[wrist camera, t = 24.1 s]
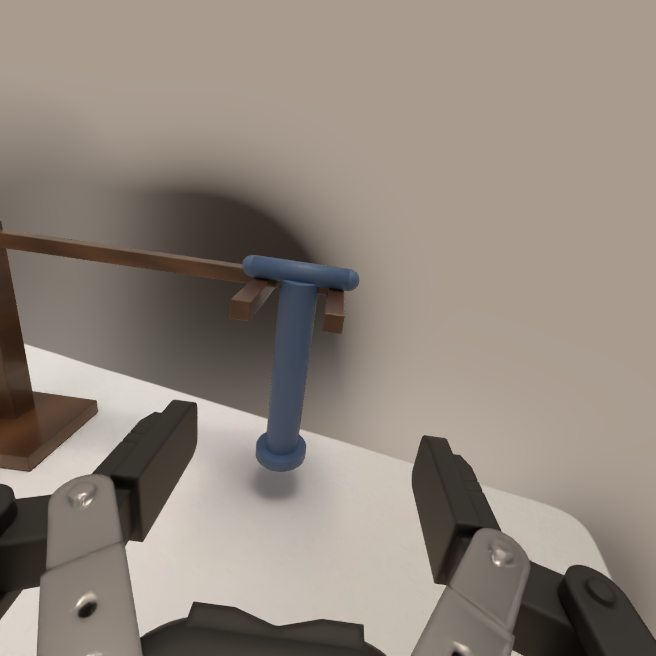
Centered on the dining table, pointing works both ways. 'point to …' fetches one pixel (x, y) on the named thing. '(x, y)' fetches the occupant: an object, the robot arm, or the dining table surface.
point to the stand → (70, 412)
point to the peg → (291, 351)
